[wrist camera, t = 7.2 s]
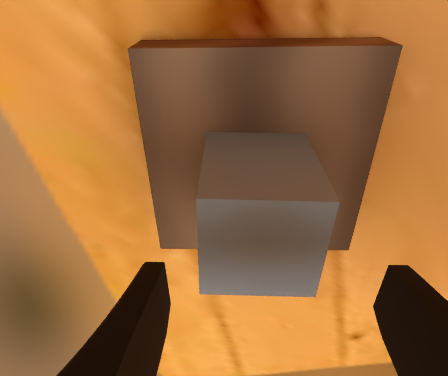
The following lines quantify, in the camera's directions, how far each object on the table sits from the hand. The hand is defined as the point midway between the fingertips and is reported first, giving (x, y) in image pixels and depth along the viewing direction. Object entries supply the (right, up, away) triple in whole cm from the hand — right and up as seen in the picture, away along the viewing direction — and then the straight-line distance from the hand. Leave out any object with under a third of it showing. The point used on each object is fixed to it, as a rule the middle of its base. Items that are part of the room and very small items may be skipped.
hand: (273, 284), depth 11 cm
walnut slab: (0, +6, +9) cm, 11 cm away
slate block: (0, +4, +7) cm, 8 cm away
